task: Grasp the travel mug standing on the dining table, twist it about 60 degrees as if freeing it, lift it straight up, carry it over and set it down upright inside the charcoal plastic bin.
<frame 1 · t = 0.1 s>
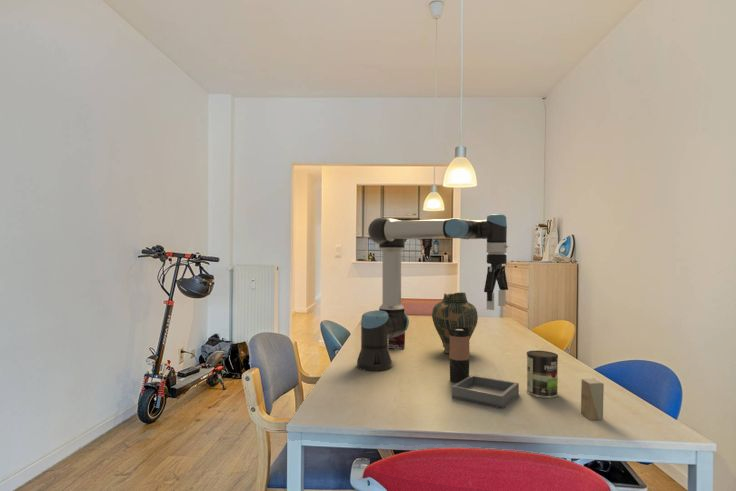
hand: (496, 307, 172), 28 cm above the table, fingers open, 13 cm apart
supplement box: (396, 348, 225), on the table
bin: (485, 396, 151), on the table
vase: (454, 352, 216), on the table
travel mug: (459, 380, 170), on the table
box: (592, 417, 133), on the table
coffee can: (542, 393, 155), on the table
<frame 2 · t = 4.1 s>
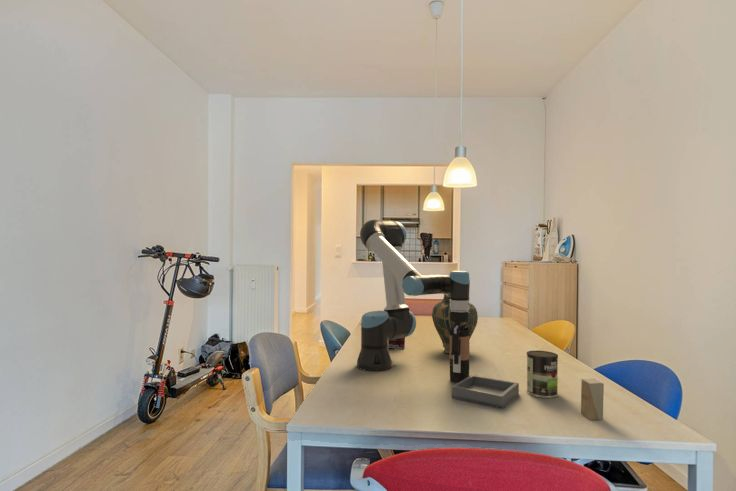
hand: (459, 369, 170), 4 cm above the table, fingers closed on travel mug, 8 cm apart
travel mug: (459, 380, 170), on the table, touching gripper
everything else where it was.
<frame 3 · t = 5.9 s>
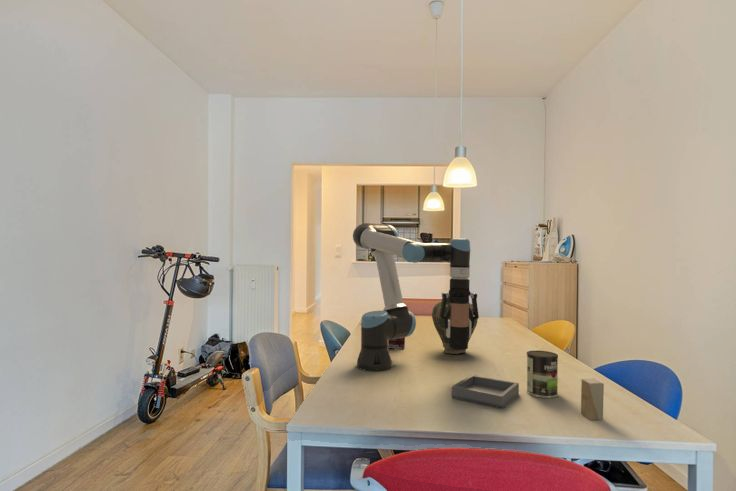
hand: (458, 336, 170), 17 cm above the table, fingers closed on travel mug, 8 cm apart
travel mug: (458, 348, 170), point 12 cm above the table, touching gripper
everything else where it was.
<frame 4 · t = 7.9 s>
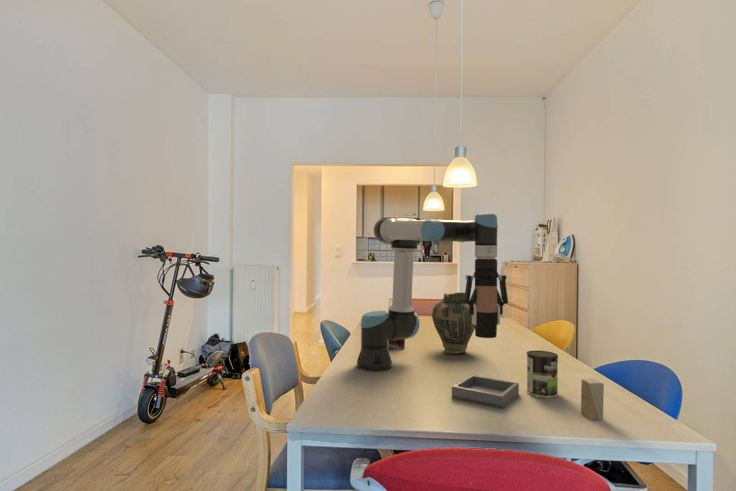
hand: (485, 324, 152), 25 cm above the table, fingers closed on travel mug, 8 cm apart
travel mug: (485, 336, 152), point 21 cm above the table, touching gripper
everything else where it was.
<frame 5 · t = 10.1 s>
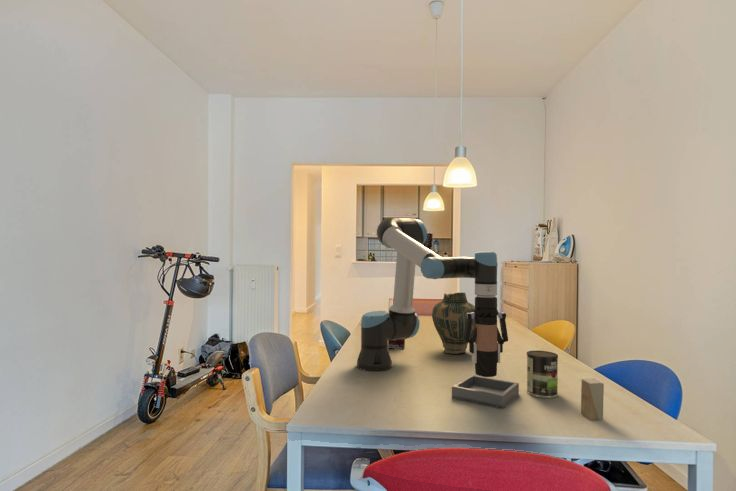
hand: (485, 362, 151), 12 cm above the table, fingers closed on travel mug, 8 cm apart
travel mug: (486, 374, 151), point 7 cm above the table, touching gripper
everything else where it was.
when the fingers open (7 cm above the table, at t = 12.0 s): travel mug drops 2 cm, resting on bin.
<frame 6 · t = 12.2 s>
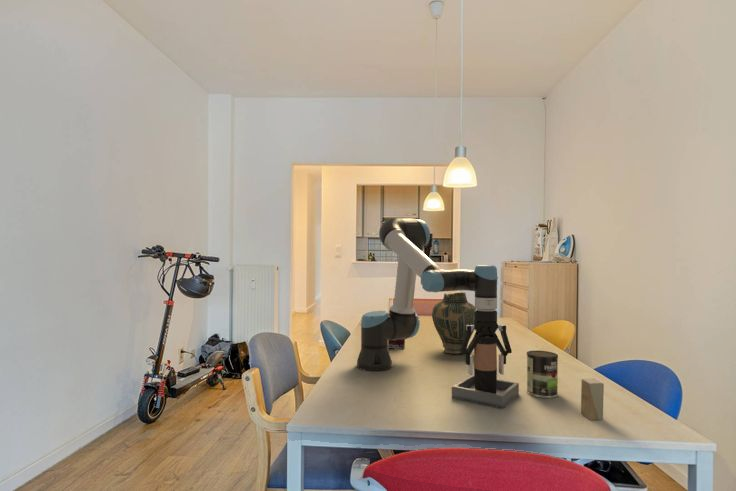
hand: (485, 373, 151), 8 cm above the table, fingers open, 10 cm apart
travel mug: (485, 393, 151), point 1 cm above the table, touching bin
everything else where it was.
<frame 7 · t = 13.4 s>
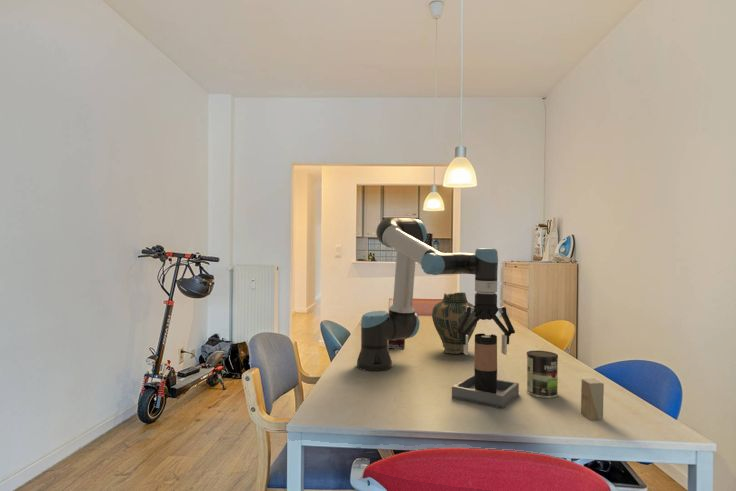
hand: (484, 353, 152), 15 cm above the table, fingers open, 13 cm apart
nothing on the table moved.
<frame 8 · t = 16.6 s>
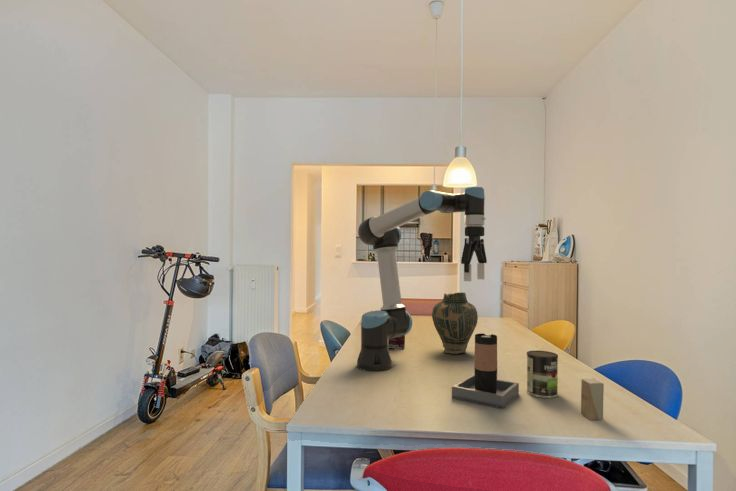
hand: (474, 280, 172), 39 cm above the table, fingers open, 13 cm apart
nothing on the table moved.
at the end: travel mug inside the target area on the bin (0.0 cm from its centre), point 0.8 cm above the bin's base; travel mug tilted 0°; the gripper is holding nothing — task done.
